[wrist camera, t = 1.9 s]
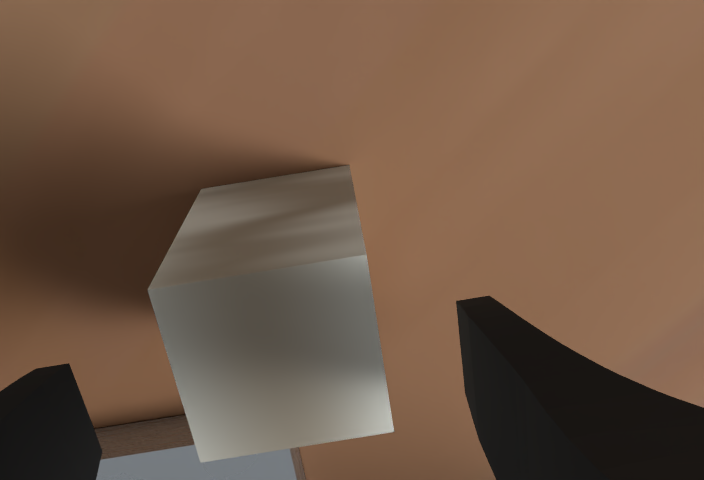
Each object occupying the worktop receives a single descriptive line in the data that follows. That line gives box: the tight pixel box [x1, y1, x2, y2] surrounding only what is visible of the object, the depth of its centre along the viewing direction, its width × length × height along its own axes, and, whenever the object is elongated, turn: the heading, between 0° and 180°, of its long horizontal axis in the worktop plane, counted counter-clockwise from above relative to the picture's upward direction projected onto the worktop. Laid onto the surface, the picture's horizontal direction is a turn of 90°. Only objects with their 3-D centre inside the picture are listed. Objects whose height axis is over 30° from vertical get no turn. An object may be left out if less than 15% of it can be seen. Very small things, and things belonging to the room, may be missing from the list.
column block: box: [148, 165, 394, 463], centre depth 15 cm, size 4×4×6 cm
